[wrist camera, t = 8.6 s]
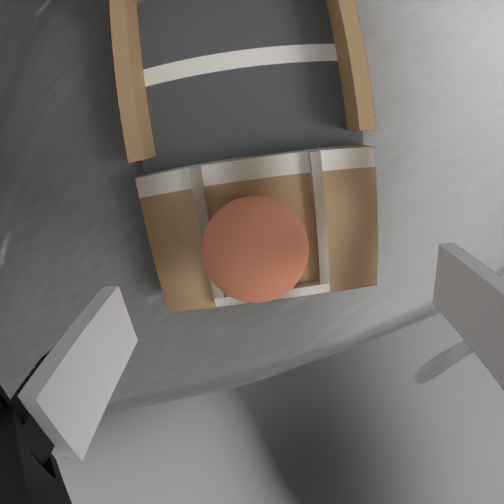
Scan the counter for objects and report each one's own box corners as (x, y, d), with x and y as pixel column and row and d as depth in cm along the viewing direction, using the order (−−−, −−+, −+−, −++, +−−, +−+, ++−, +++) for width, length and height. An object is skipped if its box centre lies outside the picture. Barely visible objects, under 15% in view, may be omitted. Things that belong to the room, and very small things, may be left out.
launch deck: (360, 144, 19) (377, 147, 16) (365, 270, 23) (379, 289, 20) (147, 173, 20) (131, 180, 17) (175, 295, 23) (166, 317, 20)
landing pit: (330, -30, 15) (346, -59, 10) (360, 144, 19) (387, 149, 15) (124, -1, 15) (100, -25, 11) (147, 173, 20) (122, 184, 16)
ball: (306, 182, 17) (300, 208, 12) (313, 271, 19) (308, 324, 14) (213, 190, 18) (173, 218, 14) (227, 274, 20) (198, 323, 16)
